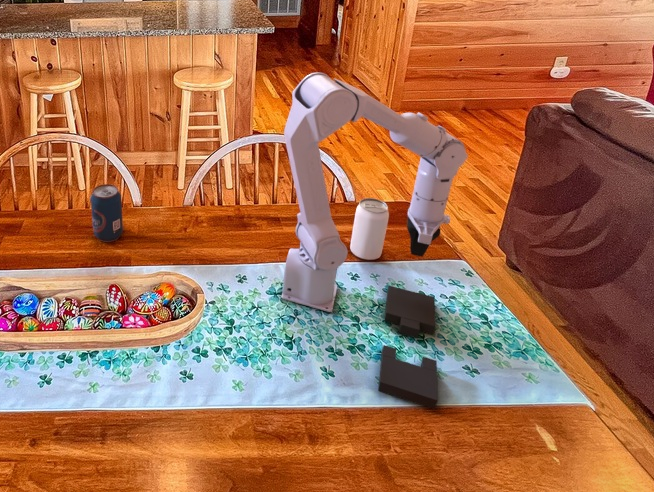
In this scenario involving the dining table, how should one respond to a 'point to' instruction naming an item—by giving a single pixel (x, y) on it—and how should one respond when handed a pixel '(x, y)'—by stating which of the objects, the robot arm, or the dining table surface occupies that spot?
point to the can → (369, 229)
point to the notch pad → (408, 379)
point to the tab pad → (410, 311)
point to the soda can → (107, 212)
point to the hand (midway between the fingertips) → (416, 253)
